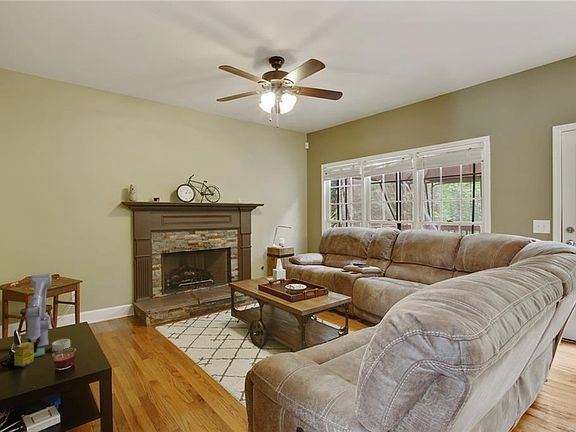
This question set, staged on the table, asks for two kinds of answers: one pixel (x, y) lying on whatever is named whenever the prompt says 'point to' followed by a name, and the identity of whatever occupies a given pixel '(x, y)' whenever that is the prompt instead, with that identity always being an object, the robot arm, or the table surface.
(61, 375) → the table surface
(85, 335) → the table surface
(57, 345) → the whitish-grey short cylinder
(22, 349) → the supplement box
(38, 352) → the lid
